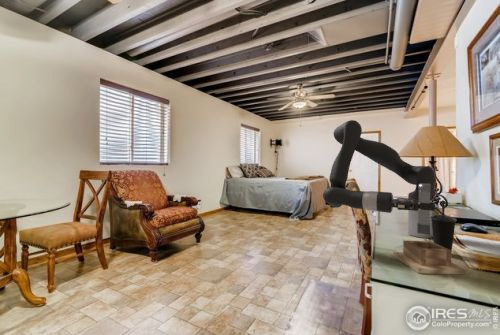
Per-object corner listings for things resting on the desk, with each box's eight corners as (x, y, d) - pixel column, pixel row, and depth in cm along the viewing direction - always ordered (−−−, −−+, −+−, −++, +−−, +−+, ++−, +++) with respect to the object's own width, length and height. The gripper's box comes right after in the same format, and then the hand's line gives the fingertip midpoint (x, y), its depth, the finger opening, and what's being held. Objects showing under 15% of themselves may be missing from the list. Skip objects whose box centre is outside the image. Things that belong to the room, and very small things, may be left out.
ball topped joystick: (418, 230, 83) (418, 182, 83) (430, 232, 81) (430, 183, 80) (417, 232, 80) (418, 183, 80) (429, 234, 78) (430, 184, 78)
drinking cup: (450, 259, 84) (450, 203, 84) (426, 252, 91) (426, 200, 91) (460, 255, 88) (460, 202, 87) (436, 249, 94) (436, 199, 94)
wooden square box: (432, 256, 87) (432, 239, 86) (464, 274, 73) (465, 253, 73) (393, 255, 87) (393, 238, 87) (418, 273, 73) (418, 252, 73)
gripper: (373, 193, 83) (435, 197, 73) (380, 190, 95) (435, 193, 84) (373, 214, 84) (435, 221, 73) (380, 208, 95) (435, 214, 84)
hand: (434, 206), depth 78 cm, fingers closed on ball topped joystick, 3 cm apart
